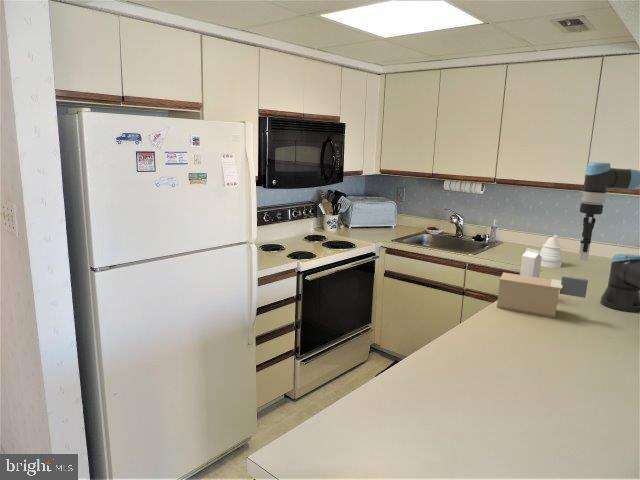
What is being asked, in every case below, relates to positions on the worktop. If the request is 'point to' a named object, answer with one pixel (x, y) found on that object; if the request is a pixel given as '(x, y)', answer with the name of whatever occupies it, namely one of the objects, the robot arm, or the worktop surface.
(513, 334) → the worktop surface
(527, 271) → the milk
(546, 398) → the worktop surface
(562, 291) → the flap
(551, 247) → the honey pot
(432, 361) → the worktop surface
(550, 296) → the carton
